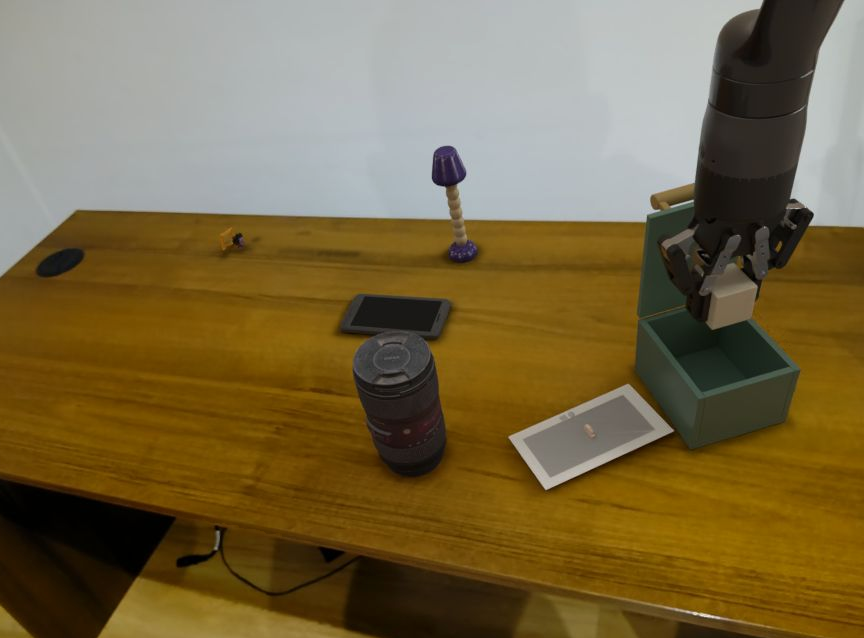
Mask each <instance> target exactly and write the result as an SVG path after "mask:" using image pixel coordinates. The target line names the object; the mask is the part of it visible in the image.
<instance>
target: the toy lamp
mask: <svg viewBox="0 0 864 638" xmlns="http://www.w3.org/2000/svg"><path fill="white" fill-rule="evenodd" d="M432 154H433V155H432V163H431V164H432V165H431V180H432V182H433V184H434V185H436V186H438V187H443V188H445V196H446V198H447V206H448V208H449V209H448V212H449V216H450V223H451V225H452V233H453V235H454V241H453V242H452V243H451V245H449V249H448V258H449V259H450V260H451V261H453V262H455V263H466V262H470V261H472V260H473V259H475V258H476V257H477V256H478V252H479V251H478V250H479V249H478V248H477V247H478V246H477V245H476V244H475V243H474V242H473V241H472V240H470V239H468V236H467V234H466V232H467V231H466V230H467V229H466V226H465V219H464V217H463V208H462V206H461V205H462V201H461V198H460V197H459V196H460V191H459V188H458V184H460V183H462V182H463V181H464V180H465V179H466V177H467V169H466V167H465V165H464V163H463V161H462V159H461V156H460V154H459V153H458V150H457V149H456V148H455V147H454V146H453V145H442V146H439V147H438V148H436V149H435V150H434V151H433V153H432Z"/></svg>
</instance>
